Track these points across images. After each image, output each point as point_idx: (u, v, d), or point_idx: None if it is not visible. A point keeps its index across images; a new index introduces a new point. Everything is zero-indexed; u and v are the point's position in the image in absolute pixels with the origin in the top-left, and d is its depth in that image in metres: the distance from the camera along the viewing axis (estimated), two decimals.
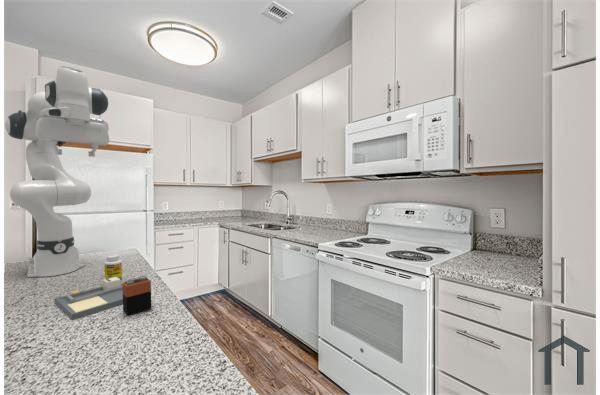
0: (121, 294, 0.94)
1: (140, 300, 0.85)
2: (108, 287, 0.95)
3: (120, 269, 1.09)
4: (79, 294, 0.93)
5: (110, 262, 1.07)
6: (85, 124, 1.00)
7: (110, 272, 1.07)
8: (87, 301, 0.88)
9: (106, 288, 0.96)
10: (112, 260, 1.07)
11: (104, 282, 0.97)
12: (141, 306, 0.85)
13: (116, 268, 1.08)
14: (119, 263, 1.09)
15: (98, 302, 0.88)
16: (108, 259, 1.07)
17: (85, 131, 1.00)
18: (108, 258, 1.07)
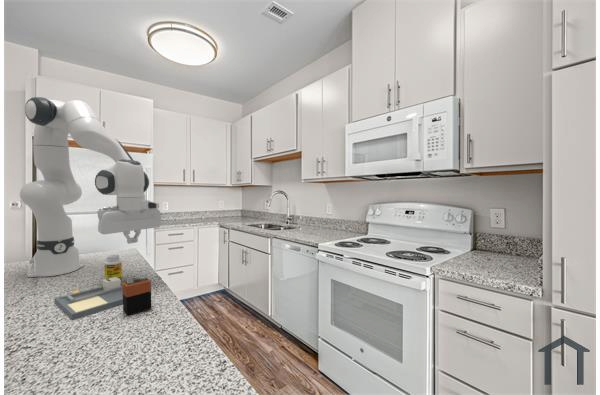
0: (121, 294, 0.94)
1: (140, 300, 0.85)
2: (108, 287, 0.95)
3: (120, 269, 1.09)
4: (79, 294, 0.93)
5: (110, 262, 1.07)
6: None
7: (110, 272, 1.07)
8: (87, 301, 0.88)
9: (106, 288, 0.96)
10: (112, 260, 1.07)
11: (104, 282, 0.97)
12: (141, 306, 0.85)
13: (116, 268, 1.08)
14: (119, 263, 1.09)
15: (98, 302, 0.88)
16: (108, 259, 1.07)
17: None
18: (108, 258, 1.07)
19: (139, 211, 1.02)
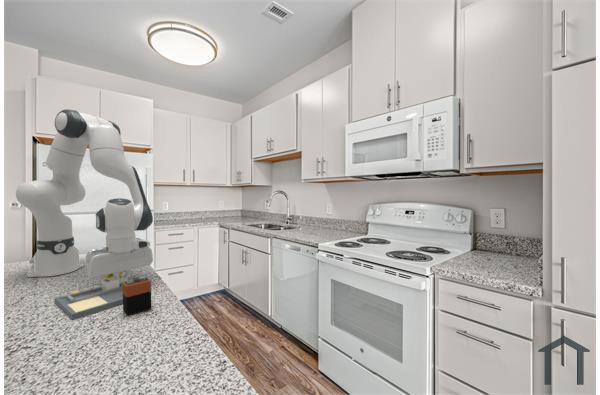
0: (121, 294, 0.94)
1: (140, 300, 0.85)
2: (107, 287, 0.95)
3: None
4: (79, 294, 0.93)
5: None
6: None
7: None
8: (87, 301, 0.88)
9: (105, 288, 0.95)
10: None
11: (103, 282, 0.96)
12: (141, 306, 0.85)
13: None
14: None
15: (98, 302, 0.88)
16: None
17: None
18: None
19: (129, 251, 1.00)
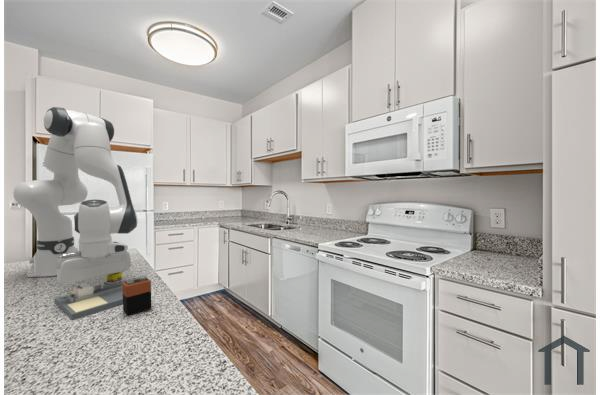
0: (121, 294, 0.94)
1: (140, 300, 0.85)
2: (79, 294, 0.89)
3: None
4: None
5: None
6: None
7: None
8: (87, 301, 0.88)
9: (77, 296, 0.89)
10: None
11: (75, 289, 0.90)
12: (141, 306, 0.85)
13: None
14: None
15: (98, 302, 0.88)
16: None
17: None
18: None
19: (104, 256, 0.94)
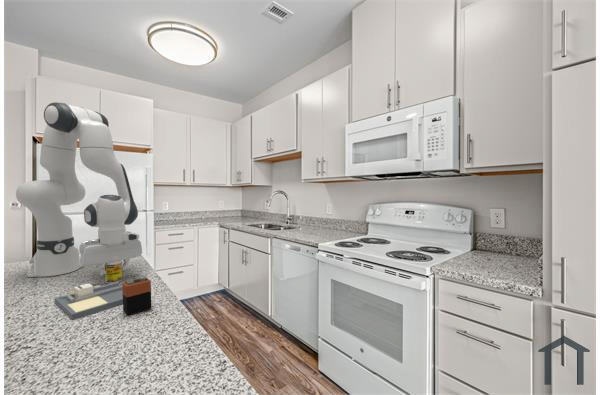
0: (121, 294, 0.94)
1: (140, 300, 0.85)
2: (79, 295, 0.89)
3: (120, 269, 1.09)
4: None
5: (110, 262, 1.07)
6: None
7: (110, 272, 1.07)
8: (87, 301, 0.88)
9: (77, 296, 0.89)
10: None
11: (75, 289, 0.90)
12: (141, 306, 0.85)
13: (116, 268, 1.08)
14: (119, 263, 1.09)
15: (98, 302, 0.88)
16: None
17: None
18: None
19: (120, 243, 1.08)
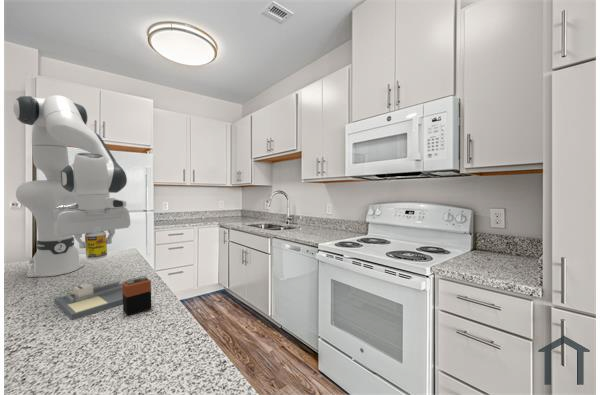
0: (121, 294, 0.94)
1: (140, 300, 0.85)
2: (79, 295, 0.89)
3: (104, 242, 0.92)
4: None
5: (91, 233, 0.90)
6: None
7: (91, 245, 0.89)
8: (87, 301, 0.88)
9: (77, 296, 0.89)
10: (94, 231, 0.90)
11: (75, 289, 0.90)
12: (141, 306, 0.85)
13: (100, 241, 0.90)
14: (103, 235, 0.91)
15: (98, 302, 0.88)
16: None
17: None
18: None
19: (102, 210, 0.91)
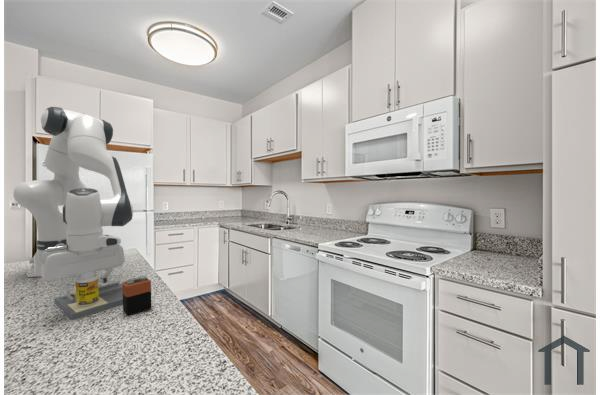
0: (121, 294, 0.94)
1: (140, 300, 0.85)
2: None
3: (96, 287, 0.87)
4: None
5: (83, 279, 0.84)
6: None
7: (82, 292, 0.84)
8: None
9: None
10: (85, 276, 0.84)
11: (75, 289, 0.90)
12: (141, 306, 0.85)
13: (91, 287, 0.85)
14: (95, 280, 0.86)
15: (98, 302, 0.88)
16: (80, 275, 0.84)
17: None
18: None
19: (95, 250, 0.85)
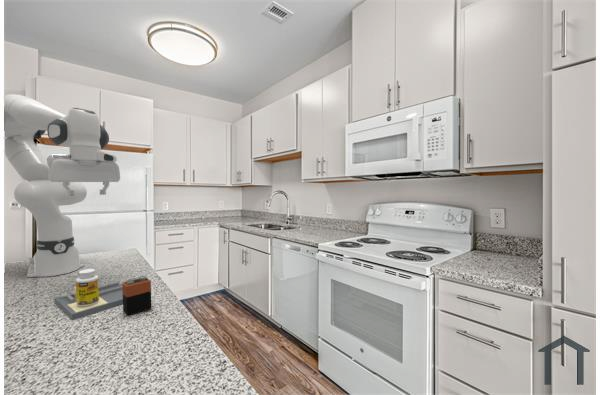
0: (121, 294, 0.94)
1: (140, 300, 0.85)
2: None
3: (96, 287, 0.87)
4: None
5: (83, 279, 0.84)
6: None
7: (82, 292, 0.84)
8: None
9: None
10: (85, 276, 0.85)
11: (75, 289, 0.90)
12: (141, 306, 0.85)
13: (91, 287, 0.85)
14: (95, 280, 0.86)
15: (98, 302, 0.88)
16: (80, 275, 0.84)
17: None
18: (80, 274, 0.84)
19: (94, 162, 0.99)
